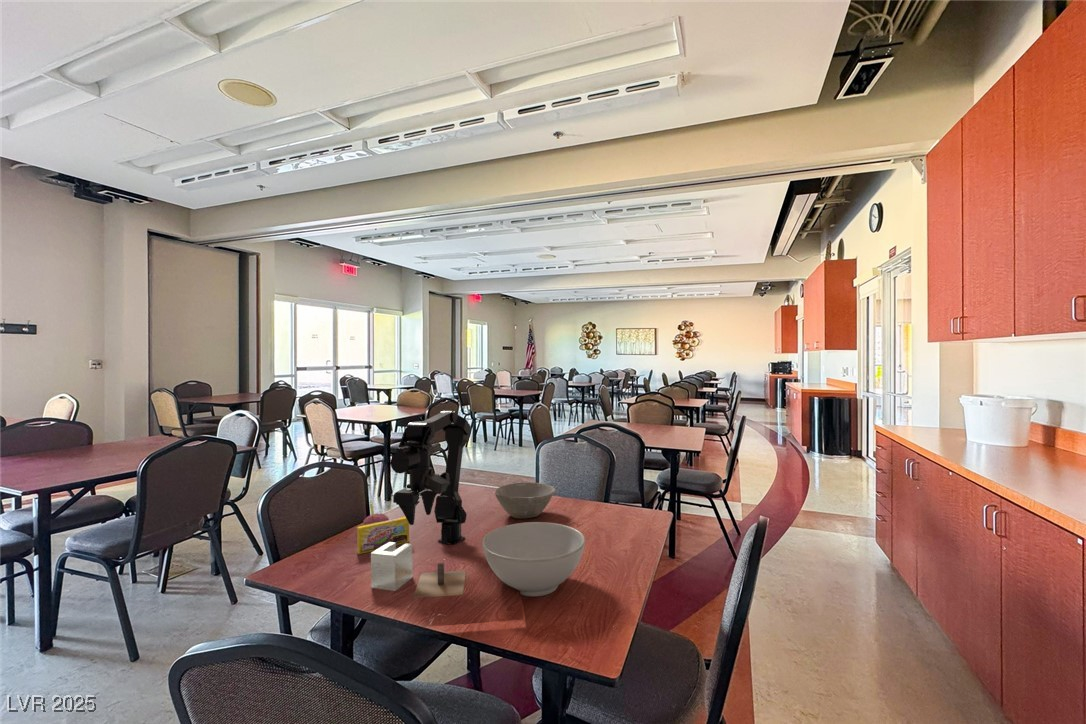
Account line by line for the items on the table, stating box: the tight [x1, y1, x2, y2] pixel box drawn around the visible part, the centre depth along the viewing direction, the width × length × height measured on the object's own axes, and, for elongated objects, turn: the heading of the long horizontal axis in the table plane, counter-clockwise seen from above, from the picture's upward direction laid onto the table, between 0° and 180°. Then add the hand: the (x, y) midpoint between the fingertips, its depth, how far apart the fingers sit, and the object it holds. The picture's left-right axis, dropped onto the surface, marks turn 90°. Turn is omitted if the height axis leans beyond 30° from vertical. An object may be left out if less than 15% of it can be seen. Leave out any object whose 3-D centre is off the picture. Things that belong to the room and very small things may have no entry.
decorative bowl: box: [481, 521, 586, 597], centre depth 123 cm, size 27×27×12 cm
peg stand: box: [412, 562, 467, 599], centre depth 123 cm, size 14×12×6 cm
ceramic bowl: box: [494, 482, 556, 520], centre depth 181 cm, size 22×23×10 cm
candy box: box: [356, 516, 410, 555], centre depth 151 cm, size 16×2×8 cm, turn 128°
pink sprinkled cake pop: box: [362, 500, 390, 526], centre depth 163 cm, size 9×8×12 cm
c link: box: [370, 542, 413, 592], centre depth 124 cm, size 8×7×10 cm
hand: (420, 519), depth 138 cm, fingers open, 9 cm apart
